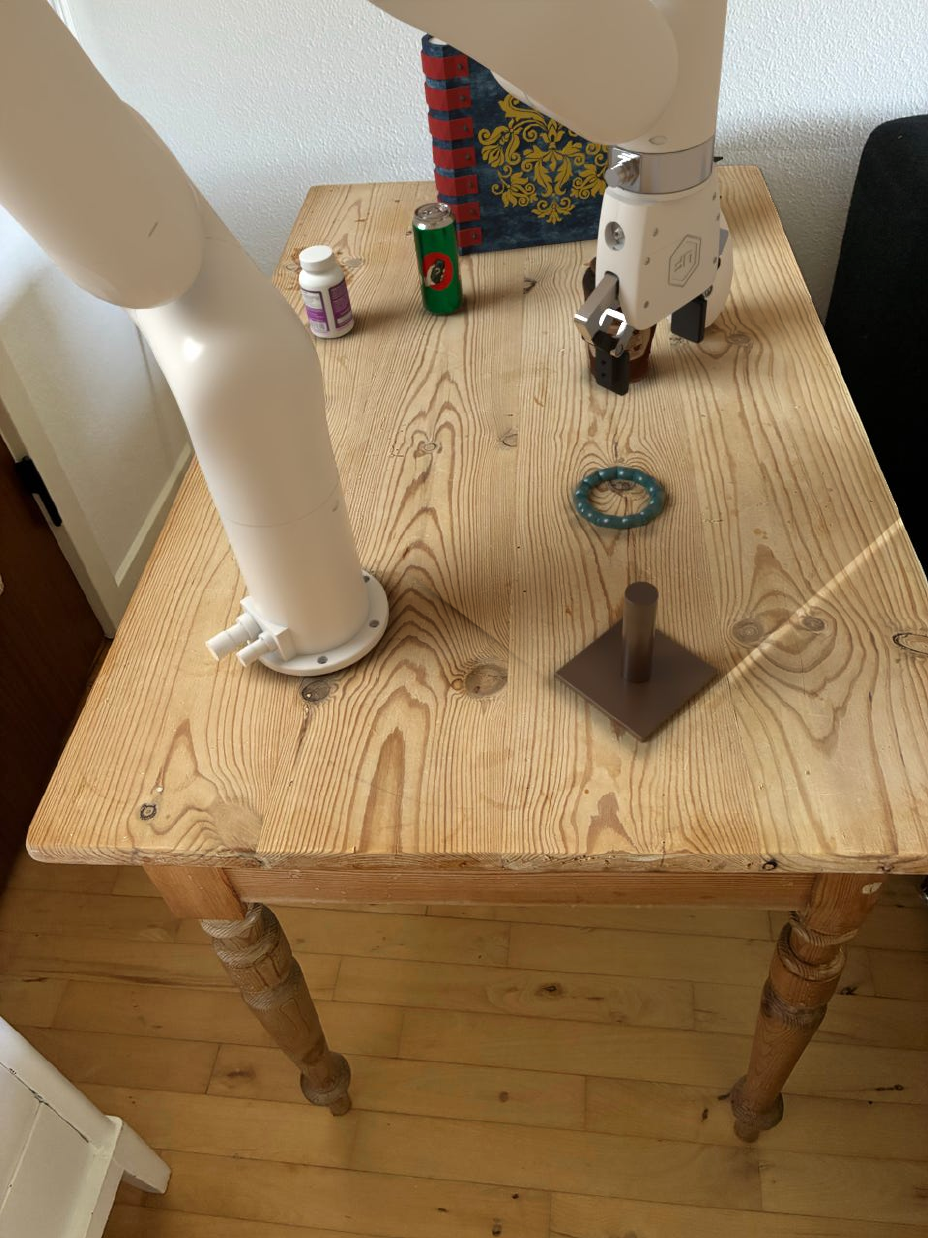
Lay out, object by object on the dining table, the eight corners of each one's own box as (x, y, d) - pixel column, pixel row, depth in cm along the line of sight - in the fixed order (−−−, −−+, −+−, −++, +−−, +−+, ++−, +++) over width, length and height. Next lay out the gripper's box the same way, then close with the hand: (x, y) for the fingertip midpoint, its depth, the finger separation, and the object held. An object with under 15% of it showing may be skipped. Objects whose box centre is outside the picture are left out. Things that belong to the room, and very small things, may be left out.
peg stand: (640, 747, 71) (649, 662, 63) (554, 682, 75) (552, 595, 68) (716, 679, 74) (732, 590, 67) (629, 621, 79) (635, 532, 71)
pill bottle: (348, 312, 117) (333, 237, 109) (359, 333, 113) (344, 257, 106) (306, 322, 116) (288, 248, 109) (315, 344, 112) (298, 268, 105)
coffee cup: (655, 399, 99) (664, 285, 89) (577, 396, 101) (577, 283, 91) (661, 353, 105) (669, 241, 95) (586, 350, 106) (587, 240, 97)
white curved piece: (717, 351, 104) (738, 188, 91) (648, 342, 106) (658, 182, 93) (731, 314, 109) (753, 154, 95) (664, 306, 111) (676, 149, 98)
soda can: (472, 307, 115) (463, 210, 106) (437, 322, 113) (426, 225, 104) (449, 291, 118) (438, 196, 109) (415, 306, 116) (402, 210, 107)
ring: (622, 547, 85) (623, 536, 84) (555, 505, 89) (555, 494, 88) (682, 501, 88) (683, 490, 87) (615, 463, 93) (615, 452, 92)
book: (443, 259, 124) (420, 49, 105) (440, 234, 128) (418, 29, 110) (634, 236, 123) (644, 21, 105) (624, 212, 128) (632, 2, 109)
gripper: (619, 219, 62) (615, 428, 75) (777, 126, 69) (748, 332, 82) (538, 190, 66) (548, 392, 79) (694, 105, 73) (680, 304, 86)
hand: (650, 362), depth 80 cm, fingers open, 9 cm apart
